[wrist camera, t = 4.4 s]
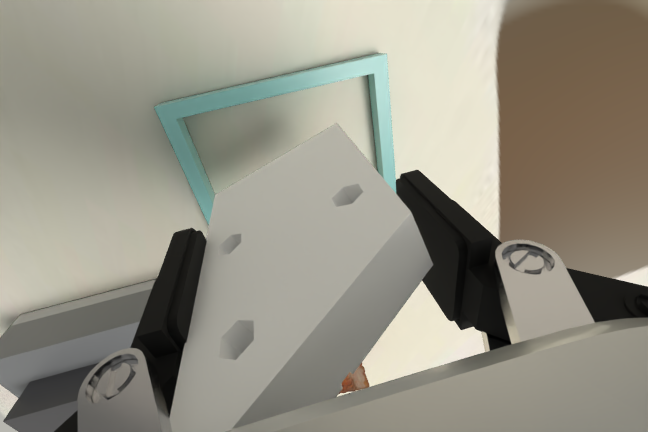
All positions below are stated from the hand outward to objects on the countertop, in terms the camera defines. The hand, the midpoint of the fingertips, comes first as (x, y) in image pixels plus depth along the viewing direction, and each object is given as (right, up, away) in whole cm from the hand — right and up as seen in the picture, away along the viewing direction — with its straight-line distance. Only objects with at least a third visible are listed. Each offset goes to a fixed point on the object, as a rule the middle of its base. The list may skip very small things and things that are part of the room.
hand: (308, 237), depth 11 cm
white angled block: (-1, +2, +3) cm, 3 cm away
